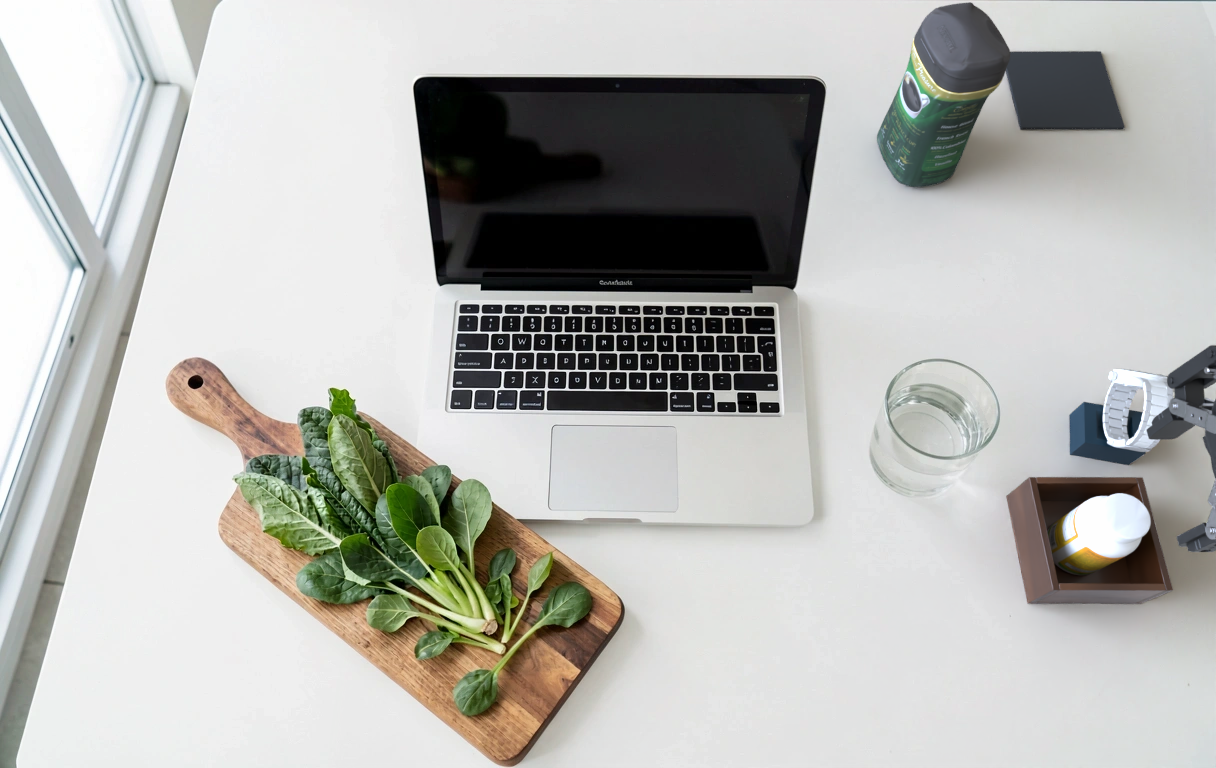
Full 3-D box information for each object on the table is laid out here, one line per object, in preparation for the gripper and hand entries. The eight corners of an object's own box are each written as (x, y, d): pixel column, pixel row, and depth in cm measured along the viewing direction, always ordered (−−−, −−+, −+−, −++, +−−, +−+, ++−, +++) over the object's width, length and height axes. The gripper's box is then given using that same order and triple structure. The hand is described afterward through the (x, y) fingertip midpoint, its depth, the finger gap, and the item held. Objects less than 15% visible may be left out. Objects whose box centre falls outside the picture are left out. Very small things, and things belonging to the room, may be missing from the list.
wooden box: (1113, 496, 86) (1142, 477, 81) (1140, 604, 81) (1173, 590, 77) (1006, 496, 86) (1029, 476, 81) (1027, 603, 81) (1053, 590, 77)
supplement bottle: (1115, 560, 83) (1174, 529, 74) (1069, 586, 82) (1123, 558, 73) (1077, 509, 85) (1130, 474, 76) (1031, 535, 84) (1079, 501, 75)
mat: (1099, 53, 111) (1100, 51, 110) (1123, 129, 105) (1125, 127, 105) (1001, 53, 111) (1002, 51, 110) (1020, 129, 105) (1021, 127, 105)
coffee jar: (962, 182, 102) (1031, 57, 85) (897, 196, 101) (952, 73, 85) (929, 119, 106) (988, -13, 90) (866, 131, 105) (913, 1, 89)
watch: (1126, 407, 90) (1189, 356, 80) (1129, 482, 86) (1195, 438, 76) (1068, 397, 90) (1123, 344, 80) (1069, 471, 87) (1127, 426, 77)
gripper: (1437, 511, 51) (1252, 580, 65) (1347, 294, 57) (1197, 402, 71) (1302, 510, 51) (1148, 580, 65) (1227, 293, 57) (1102, 401, 71)
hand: (1173, 487), depth 68 cm, fingers open, 8 cm apart
